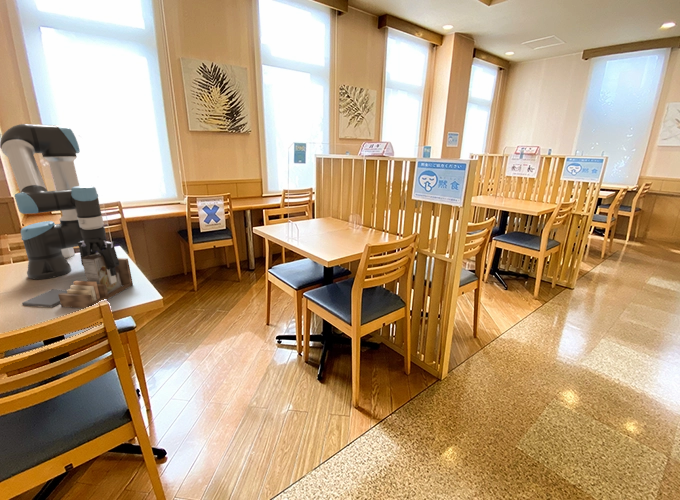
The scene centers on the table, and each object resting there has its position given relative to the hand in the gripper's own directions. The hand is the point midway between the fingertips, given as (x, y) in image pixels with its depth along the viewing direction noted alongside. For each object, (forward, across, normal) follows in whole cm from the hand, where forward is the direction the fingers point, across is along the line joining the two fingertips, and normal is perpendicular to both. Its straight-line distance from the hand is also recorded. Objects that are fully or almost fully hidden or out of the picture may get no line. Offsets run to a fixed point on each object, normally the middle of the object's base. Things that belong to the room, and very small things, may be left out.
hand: (104, 282), depth 131 cm
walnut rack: (+4, 0, -4) cm, 5 cm away
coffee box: (+4, 0, 0) cm, 4 cm away
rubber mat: (+4, -15, -9) cm, 18 cm away
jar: (+4, -55, +36) cm, 66 cm away
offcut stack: (+4, 0, -10) cm, 11 cm away
